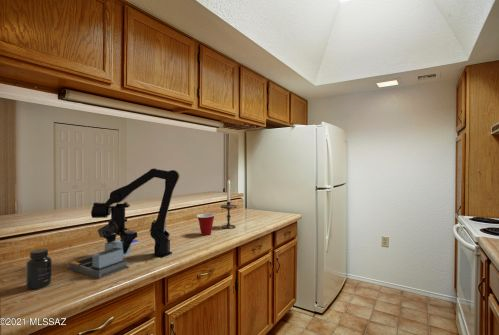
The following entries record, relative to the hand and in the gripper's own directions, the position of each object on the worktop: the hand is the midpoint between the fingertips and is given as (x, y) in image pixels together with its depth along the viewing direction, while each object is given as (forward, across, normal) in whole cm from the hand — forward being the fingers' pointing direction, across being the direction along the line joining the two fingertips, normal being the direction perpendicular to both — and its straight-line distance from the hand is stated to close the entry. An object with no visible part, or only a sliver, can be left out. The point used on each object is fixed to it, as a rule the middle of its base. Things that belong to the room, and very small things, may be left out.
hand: (118, 252), depth 122 cm
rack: (+2, +6, -12) cm, 14 cm away
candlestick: (+2, +12, +73) cm, 74 cm away
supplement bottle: (+2, +3, -32) cm, 32 cm away
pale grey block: (+2, 0, 0) cm, 2 cm away
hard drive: (+3, -15, +14) cm, 21 cm away
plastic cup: (+2, +10, +51) cm, 52 cm away
